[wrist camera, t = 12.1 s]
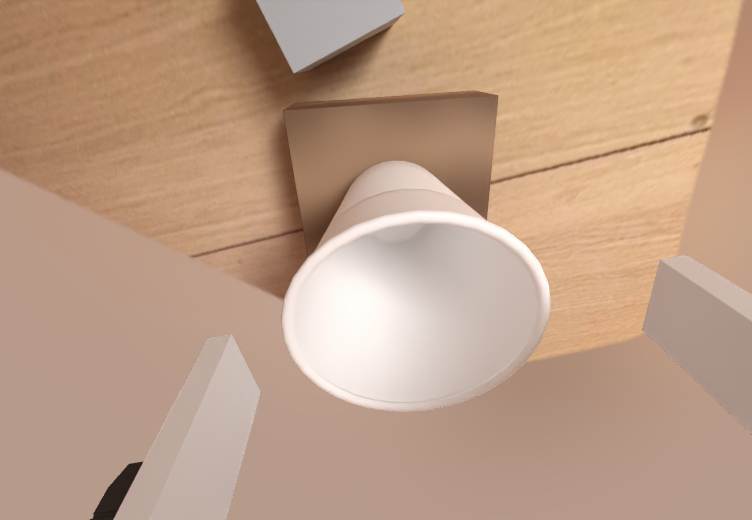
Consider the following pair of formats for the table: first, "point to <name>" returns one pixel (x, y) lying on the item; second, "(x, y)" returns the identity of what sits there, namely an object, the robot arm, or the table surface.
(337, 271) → the cup
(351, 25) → the grey cube
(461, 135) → the walnut block
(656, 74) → the table surface
